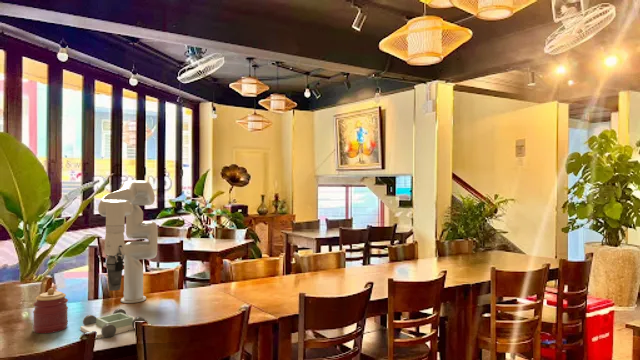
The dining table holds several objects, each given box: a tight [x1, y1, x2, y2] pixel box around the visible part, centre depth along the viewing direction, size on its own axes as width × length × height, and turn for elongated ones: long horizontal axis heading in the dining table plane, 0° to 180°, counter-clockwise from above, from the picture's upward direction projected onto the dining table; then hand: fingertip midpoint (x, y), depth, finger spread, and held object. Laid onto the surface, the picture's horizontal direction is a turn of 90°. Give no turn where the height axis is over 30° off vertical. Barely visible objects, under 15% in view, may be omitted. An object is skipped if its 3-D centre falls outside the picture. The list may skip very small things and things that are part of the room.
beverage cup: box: [105, 254, 124, 292], centre depth 195 cm, size 7×7×20 cm
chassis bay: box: [80, 308, 146, 339], centre depth 195 cm, size 21×22×5 cm
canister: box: [32, 287, 69, 334], centre depth 193 cm, size 13×13×18 cm
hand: (114, 269), depth 195 cm, fingers closed on beverage cup, 7 cm apart
